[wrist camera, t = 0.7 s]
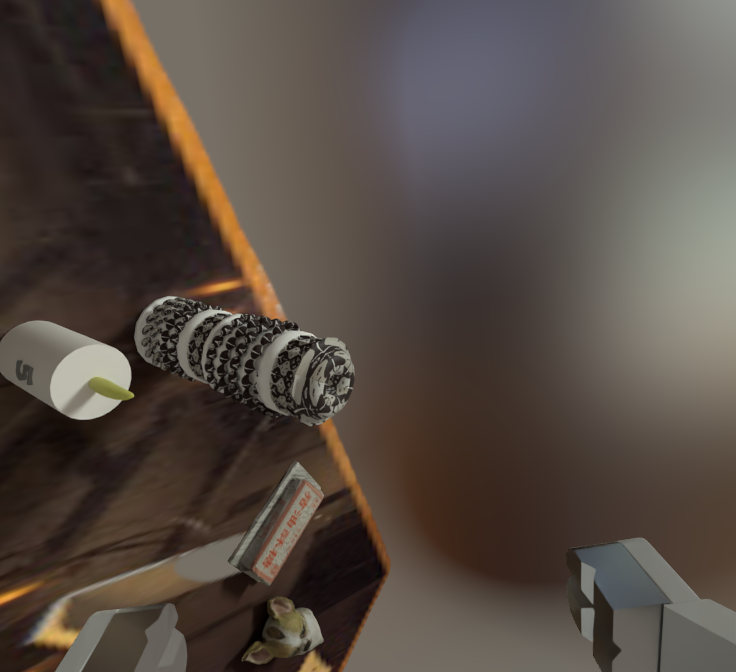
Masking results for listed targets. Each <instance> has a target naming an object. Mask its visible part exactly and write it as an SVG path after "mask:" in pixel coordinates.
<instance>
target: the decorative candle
mask: <svg viewBox="0 0 736 672" xmlns="http://www.w3.org/2000/svg"><path fill="white" fill-rule="evenodd" d="M134 340H135V343H136V347H137V351H138V352H139V354H140V355H141V356H142V357H143V359H144V360H145V361H146V362H148V363H151V364H152V365H153V366H157V367H160V368H161V369H162V370H164V371H166V370H167V369H168V367H169V369H170V370H169V371H170V373H171V374H175V373H177V372H178V374H179V376H180V377H182V378H185V377H187V379H188V380H189V381H195V380H196V379H197V380H199V381H201V382H204V383H209V385H210V386H211V387H212V388H213V389H214V390H215V391H220V392H222V393H224V395H225V396H226V397H232V399H233V400H234V401H237V402H239V403H243V402H244V404H245V405H246V406H249V408H250V409H256V410H257V412H259V413H262V414H263V415H269V416H270V417H271V418H277V417H278V416H279V415H281V416H286V415H292V416H294V417H297V418H299V420H300V421H301V422H303V423H305V424H307V425H309V426H313V425H318V424H322V423H324V422H325V421H326V420H328V419H329V418H330V417H332V416H333V415H335V414H336V413H337V412H339V411H340V410H341V409H342V408H343V407H344V405H345V404H346V402H347V401H348V399H349V397H350V395H351V392H352V389H353V384H354V378H355V377H354V366H353V364H352V362H351V358H350V355H349V352H348V350H347V347H346V345H345V344H344V343H342V342H341V341H340V340H339V339H338V338H325V339H321V338H316V337H315V336H314V335H313V334H310V333H306V332H303V331H301V329H300V328H298V325H297V324H296V323H294V322H289V321H283V322H281V321H280V320H279V319H273V320H271V319H270V318H268V317H263V316H259V317H256V316H255V315H253V314H252V315H246V314H234V315H232V314H231V313H229V312H226V311H223V309H222V308H220V307H215V308H214V307H213V306H212V305H209V304H207V305H204V304H203V303H202V302H199V301H193V300H191V299H184V298H181V297H173V296H166V297H163V298H160V299H157V300H155V301H153V302H152V303H151V304H150V305H149V306H147V307H146V308H145V309H144V310H143V312H142V313H141V315H140V317H139V319H138V321H137V322H136V327H135V334H134ZM262 402H263V403H264V404H265V406H264V405H263V404H262Z"/></svg>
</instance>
